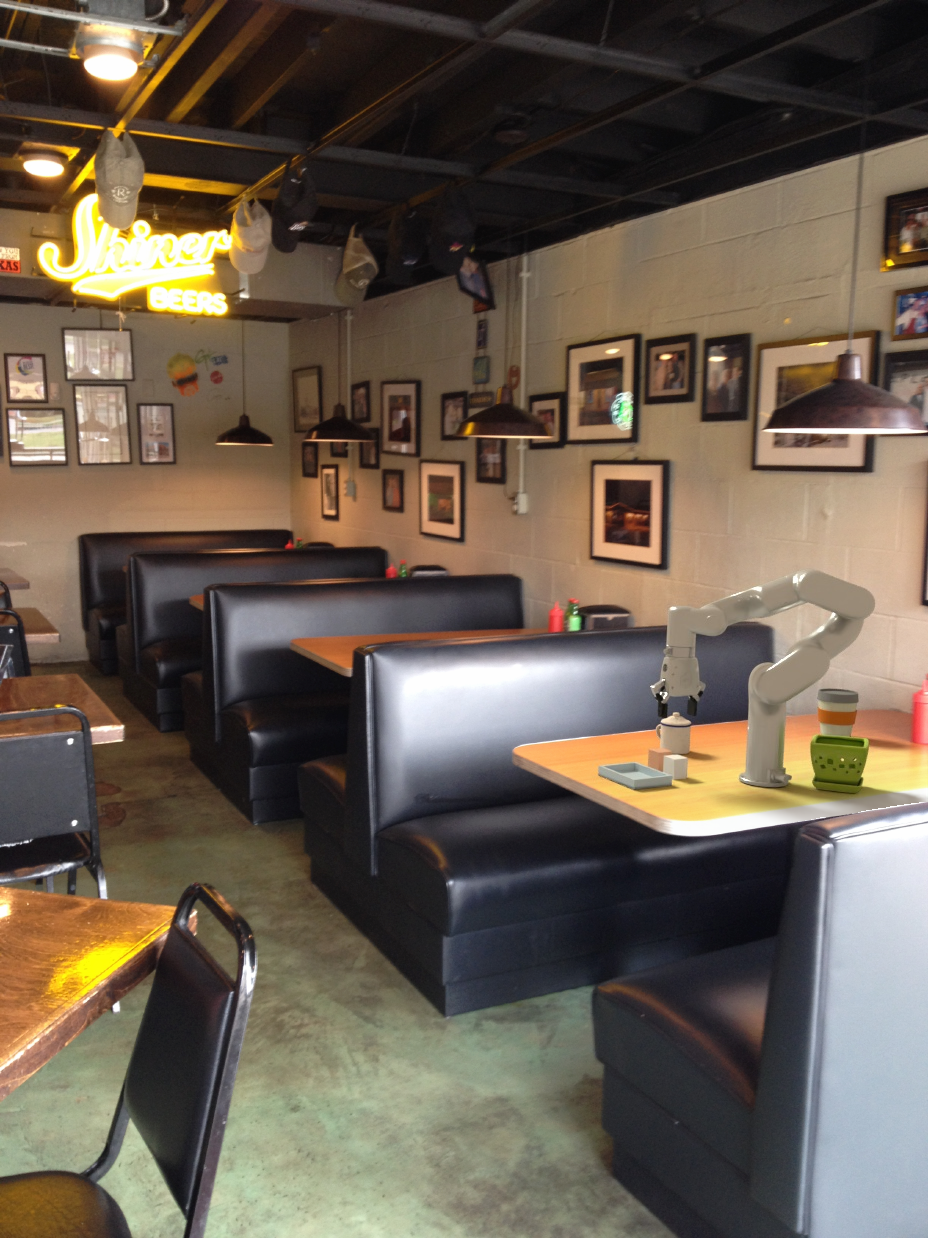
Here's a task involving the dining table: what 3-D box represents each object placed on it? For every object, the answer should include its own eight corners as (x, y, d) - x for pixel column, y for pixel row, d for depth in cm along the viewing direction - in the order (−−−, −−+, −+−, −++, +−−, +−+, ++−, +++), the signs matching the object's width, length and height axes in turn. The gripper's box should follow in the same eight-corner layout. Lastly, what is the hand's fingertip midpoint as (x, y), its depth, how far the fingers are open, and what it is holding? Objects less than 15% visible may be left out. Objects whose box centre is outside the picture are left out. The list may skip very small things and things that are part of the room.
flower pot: (867, 785, 268) (870, 738, 267) (865, 798, 256) (868, 748, 254) (811, 778, 274) (813, 732, 273) (806, 791, 261) (809, 742, 260)
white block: (686, 778, 271) (687, 758, 271) (673, 780, 269) (674, 759, 269) (676, 774, 275) (677, 754, 275) (662, 776, 273) (663, 755, 273)
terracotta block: (671, 771, 279) (672, 751, 278) (657, 772, 277) (658, 752, 276) (661, 767, 283) (661, 748, 282) (647, 768, 281) (648, 749, 280)
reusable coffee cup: (806, 734, 331) (809, 689, 330) (835, 732, 337) (838, 687, 335) (835, 743, 320) (838, 695, 319) (865, 740, 325) (867, 693, 324)
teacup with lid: (696, 752, 302) (698, 714, 301) (675, 756, 296) (677, 717, 295) (666, 745, 311) (667, 707, 310) (645, 748, 306) (647, 710, 305)
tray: (671, 785, 263) (672, 775, 263) (633, 790, 258) (634, 780, 258) (634, 771, 277) (635, 761, 277) (598, 775, 272) (598, 765, 272)
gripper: (662, 655, 262) (659, 721, 264) (715, 653, 270) (712, 717, 271) (645, 651, 269) (642, 715, 270) (697, 649, 276) (693, 712, 278)
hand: (677, 716), depth 271 cm, fingers open, 9 cm apart
